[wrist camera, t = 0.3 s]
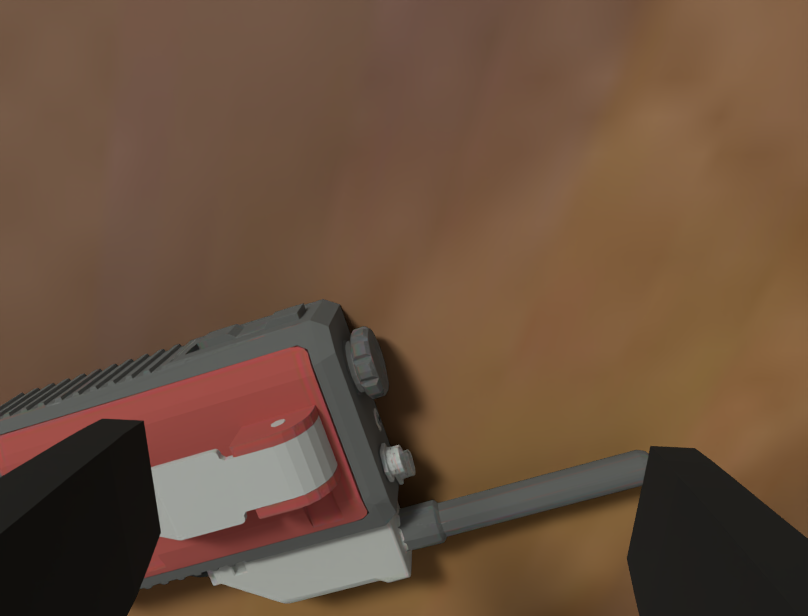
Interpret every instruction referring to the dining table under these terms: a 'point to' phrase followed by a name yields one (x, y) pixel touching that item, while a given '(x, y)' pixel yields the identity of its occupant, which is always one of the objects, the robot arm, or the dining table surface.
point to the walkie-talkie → (281, 457)
